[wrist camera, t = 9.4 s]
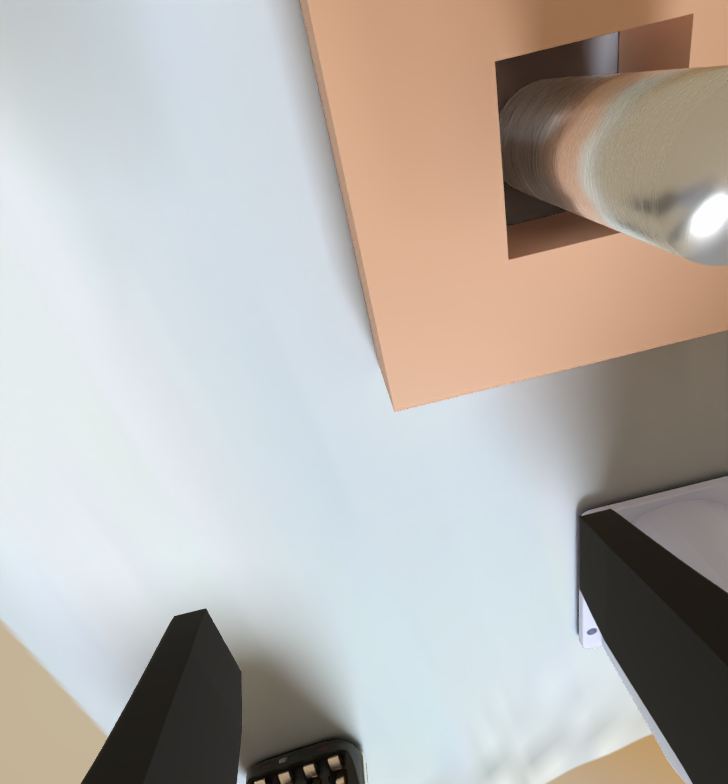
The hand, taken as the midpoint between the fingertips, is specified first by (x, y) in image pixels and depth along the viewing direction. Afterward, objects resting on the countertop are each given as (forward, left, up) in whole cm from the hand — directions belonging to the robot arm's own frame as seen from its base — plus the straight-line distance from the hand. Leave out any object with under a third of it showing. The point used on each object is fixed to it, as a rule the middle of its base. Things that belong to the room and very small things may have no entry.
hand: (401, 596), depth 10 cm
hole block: (+6, -7, -9) cm, 13 cm away
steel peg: (+6, -7, -9) cm, 13 cm away
